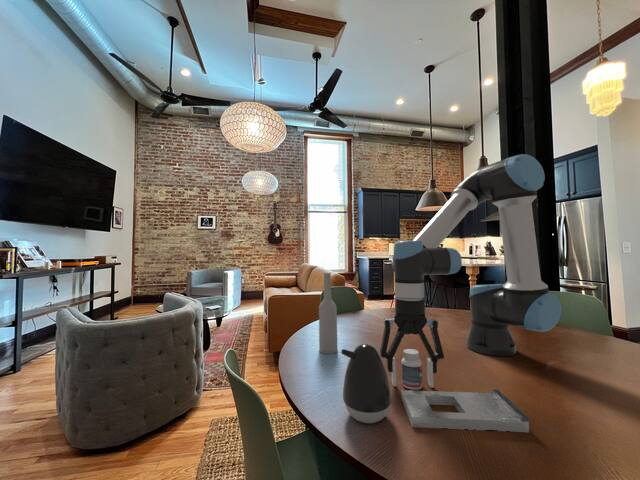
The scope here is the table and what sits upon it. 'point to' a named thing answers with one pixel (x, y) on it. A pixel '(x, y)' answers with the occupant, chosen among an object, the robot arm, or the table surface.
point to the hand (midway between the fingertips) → (412, 384)
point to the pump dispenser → (366, 385)
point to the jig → (464, 411)
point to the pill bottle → (411, 370)
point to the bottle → (327, 320)
